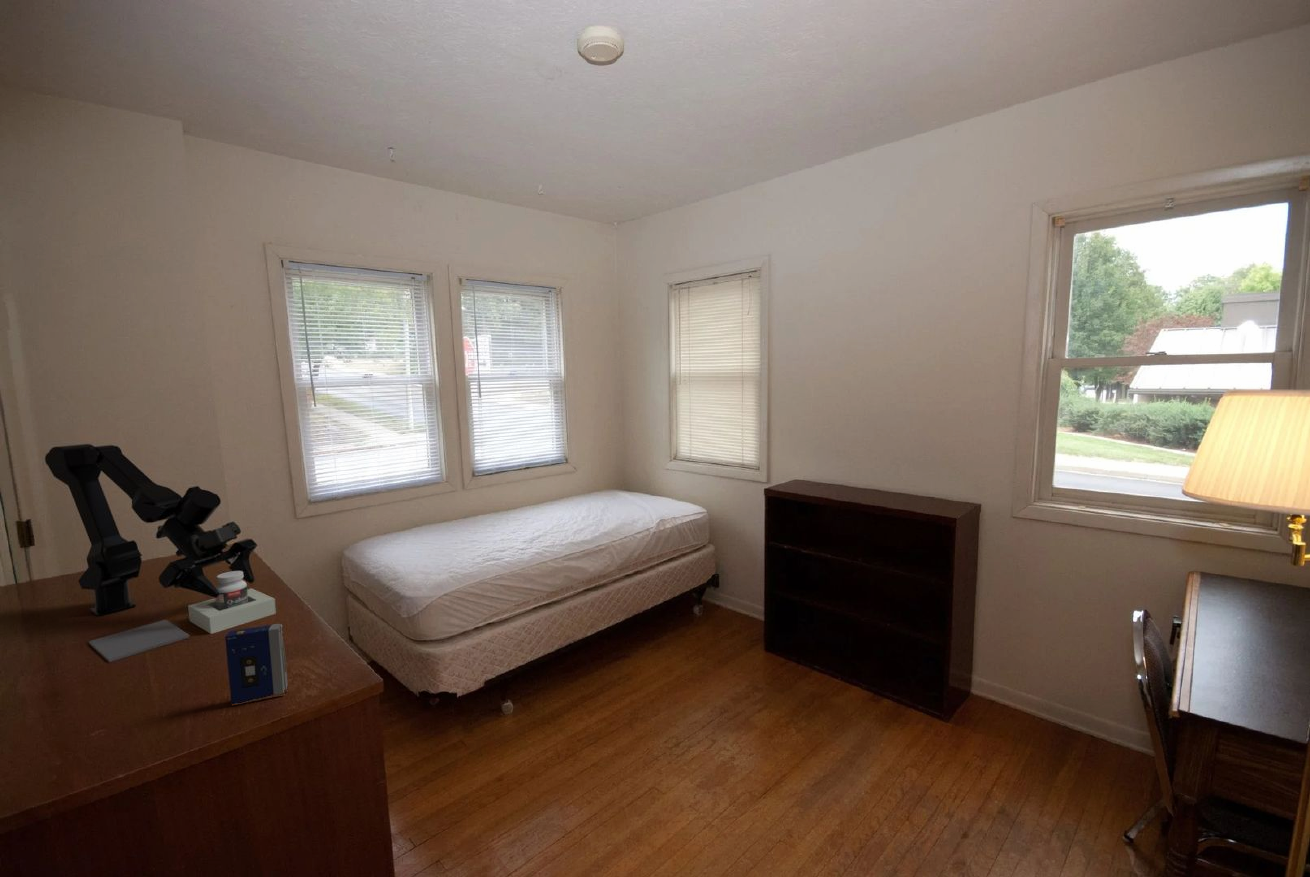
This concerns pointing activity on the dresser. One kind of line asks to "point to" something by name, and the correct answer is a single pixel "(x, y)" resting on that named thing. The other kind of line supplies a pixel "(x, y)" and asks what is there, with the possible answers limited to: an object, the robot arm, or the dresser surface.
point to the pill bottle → (231, 590)
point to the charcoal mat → (137, 640)
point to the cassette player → (256, 662)
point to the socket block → (231, 612)
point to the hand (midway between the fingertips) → (236, 588)
